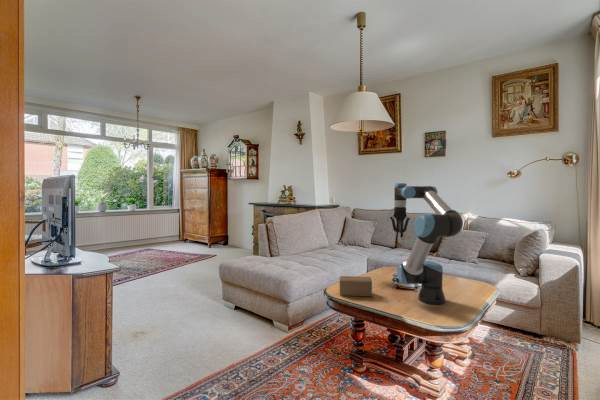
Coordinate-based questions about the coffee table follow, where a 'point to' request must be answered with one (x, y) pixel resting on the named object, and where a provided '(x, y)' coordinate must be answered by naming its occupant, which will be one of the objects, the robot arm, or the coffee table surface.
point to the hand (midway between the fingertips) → (399, 242)
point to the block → (355, 286)
